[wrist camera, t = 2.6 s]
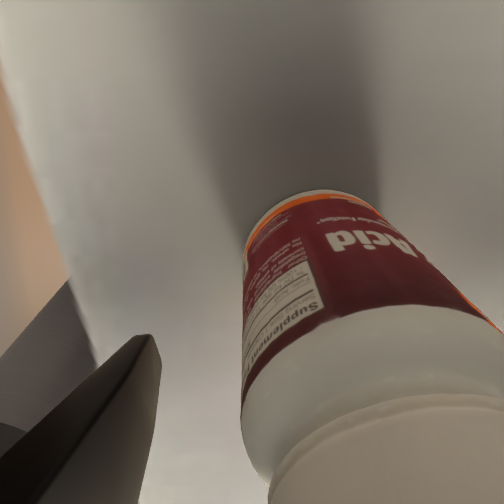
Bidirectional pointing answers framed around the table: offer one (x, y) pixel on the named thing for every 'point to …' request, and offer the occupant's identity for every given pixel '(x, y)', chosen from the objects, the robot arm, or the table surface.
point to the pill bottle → (364, 365)
